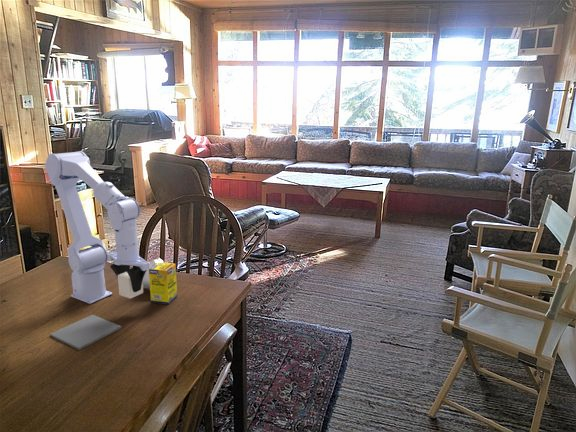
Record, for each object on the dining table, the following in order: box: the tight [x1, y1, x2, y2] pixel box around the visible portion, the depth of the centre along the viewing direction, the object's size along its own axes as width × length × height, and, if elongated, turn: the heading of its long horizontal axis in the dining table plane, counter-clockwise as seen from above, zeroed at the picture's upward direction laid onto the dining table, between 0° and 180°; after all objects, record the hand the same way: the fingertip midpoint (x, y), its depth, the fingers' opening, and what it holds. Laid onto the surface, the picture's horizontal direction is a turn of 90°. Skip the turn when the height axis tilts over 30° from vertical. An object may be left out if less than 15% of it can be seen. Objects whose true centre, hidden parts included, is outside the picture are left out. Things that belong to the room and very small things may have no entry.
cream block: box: [117, 272, 144, 299], centre depth 118 cm, size 4×4×6 cm
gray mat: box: [49, 314, 122, 351], centre depth 108 cm, size 12×12×1 cm
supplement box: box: [149, 261, 178, 305], centre depth 126 cm, size 6×6×11 cm
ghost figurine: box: [142, 258, 165, 291], centre depth 133 cm, size 9×10×10 cm
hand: (130, 288), depth 118 cm, fingers closed on cream block, 4 cm apart
